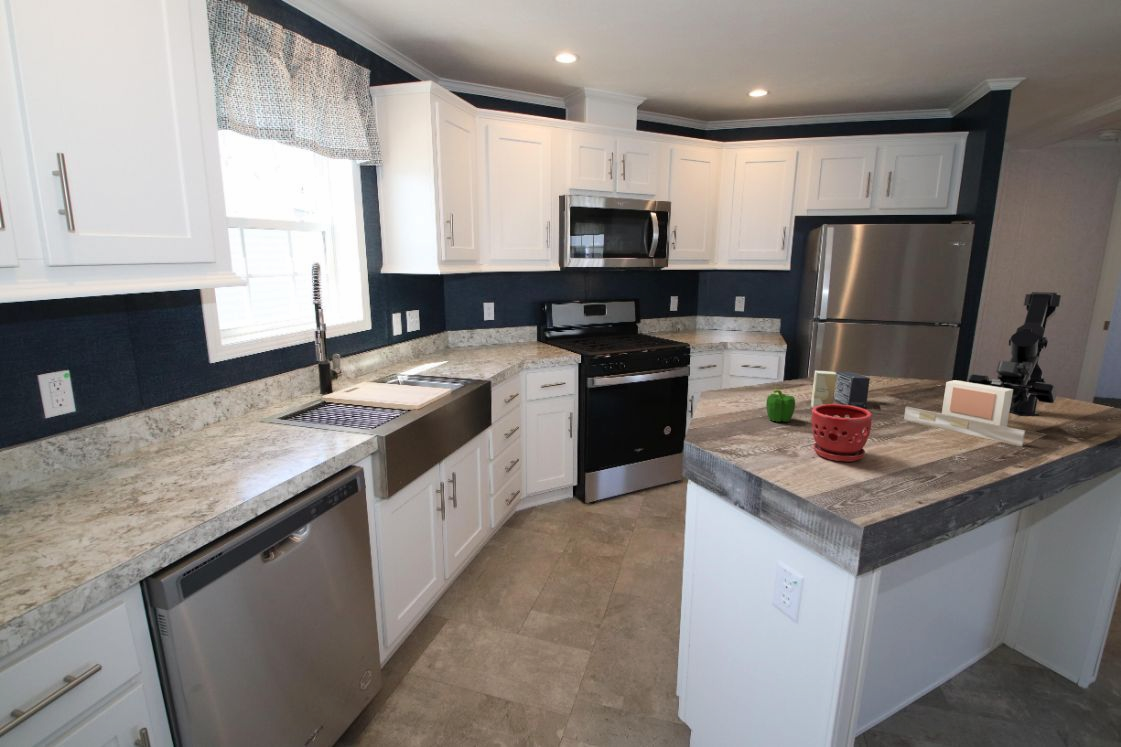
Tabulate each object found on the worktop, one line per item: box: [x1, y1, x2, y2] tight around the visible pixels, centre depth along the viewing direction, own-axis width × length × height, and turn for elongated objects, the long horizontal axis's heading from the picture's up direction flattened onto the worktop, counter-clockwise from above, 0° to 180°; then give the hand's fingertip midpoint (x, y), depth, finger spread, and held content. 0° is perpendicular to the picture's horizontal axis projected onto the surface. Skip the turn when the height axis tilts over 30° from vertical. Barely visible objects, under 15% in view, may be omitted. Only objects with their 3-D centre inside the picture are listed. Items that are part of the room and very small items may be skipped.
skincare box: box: [810, 370, 837, 409], centre depth 176 cm, size 6×4×12 cm
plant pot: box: [811, 403, 873, 463], centre depth 132 cm, size 13×13×12 cm
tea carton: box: [941, 379, 1013, 427], centre depth 150 cm, size 10×14×12 cm
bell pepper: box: [765, 388, 796, 423], centre depth 162 cm, size 8×8×10 cm
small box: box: [833, 371, 871, 409], centre depth 181 cm, size 11×6×10 cm, turn 179°
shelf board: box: [903, 406, 1048, 447], centre depth 151 cm, size 18×28×6 cm, turn 32°
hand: (999, 411), depth 147 cm, fingers closed on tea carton
